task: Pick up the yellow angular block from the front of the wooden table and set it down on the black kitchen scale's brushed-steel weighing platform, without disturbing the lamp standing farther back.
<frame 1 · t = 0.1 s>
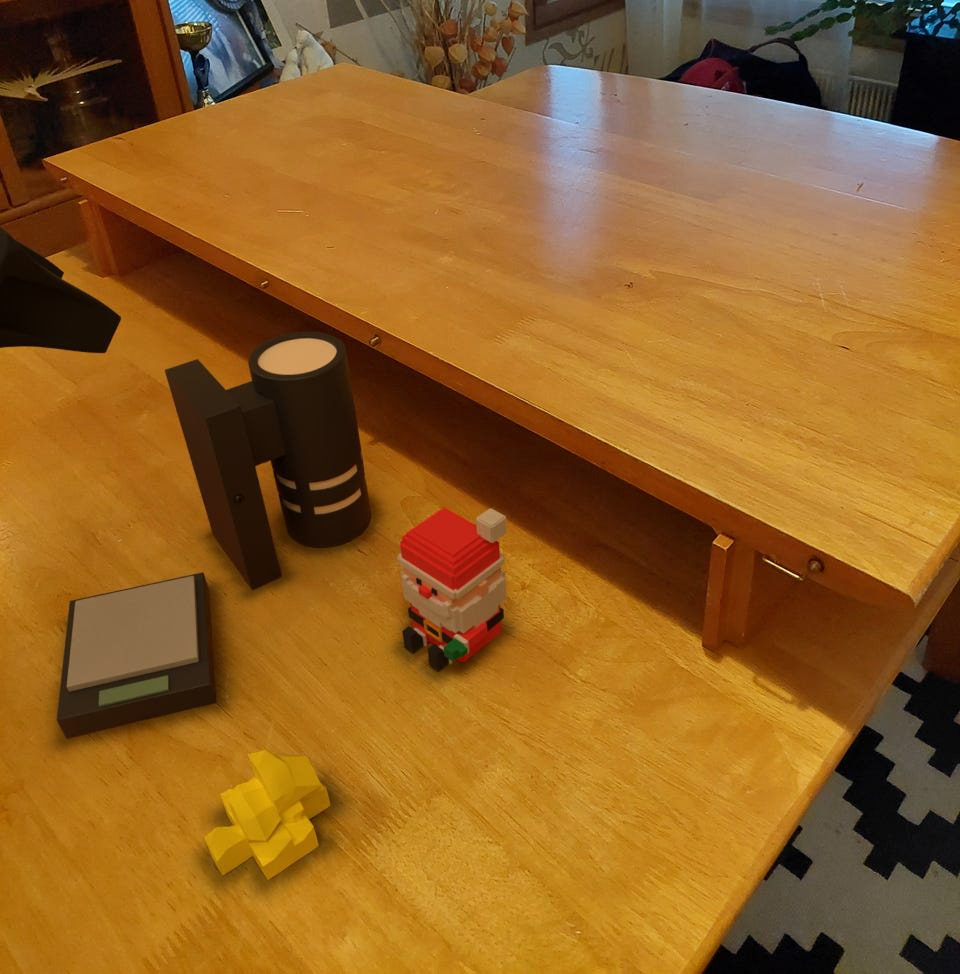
hand: (81, 309, 48), 34 cm above the table, tool tilted 50°, fingers open, 7 cm apart
scale: (143, 651, 75), on the table
yellow angular block: (273, 832, 62), on the table
light fixture: (301, 533, 86), on the table
figurine: (453, 637, 75), on the table
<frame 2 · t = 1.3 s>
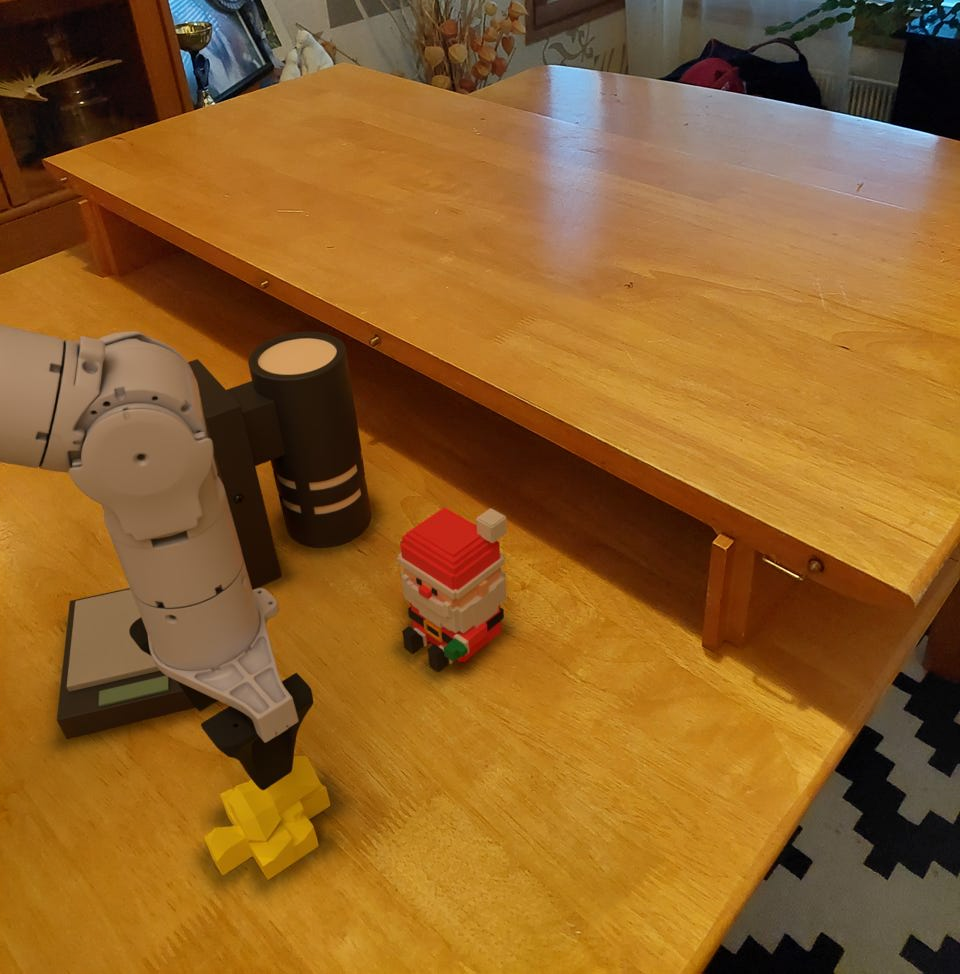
hand: (242, 737, 56), 10 cm above the table, tool pointing down, fingers open, 7 cm apart
nothing on the table moved.
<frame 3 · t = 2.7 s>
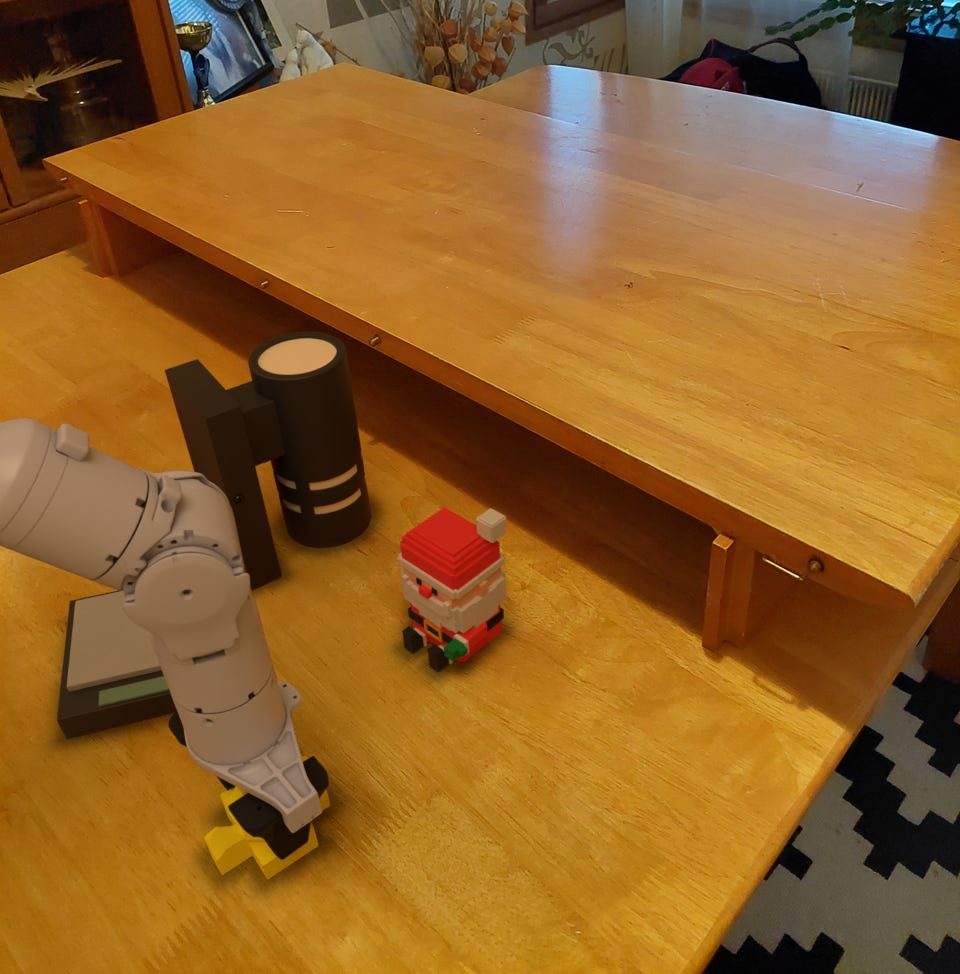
hand: (266, 813, 60), 2 cm above the table, tool pointing down, fingers closed on yellow angular block, 6 cm apart
yellow angular block: (272, 832, 62), on the table, touching gripper
everything else where it was.
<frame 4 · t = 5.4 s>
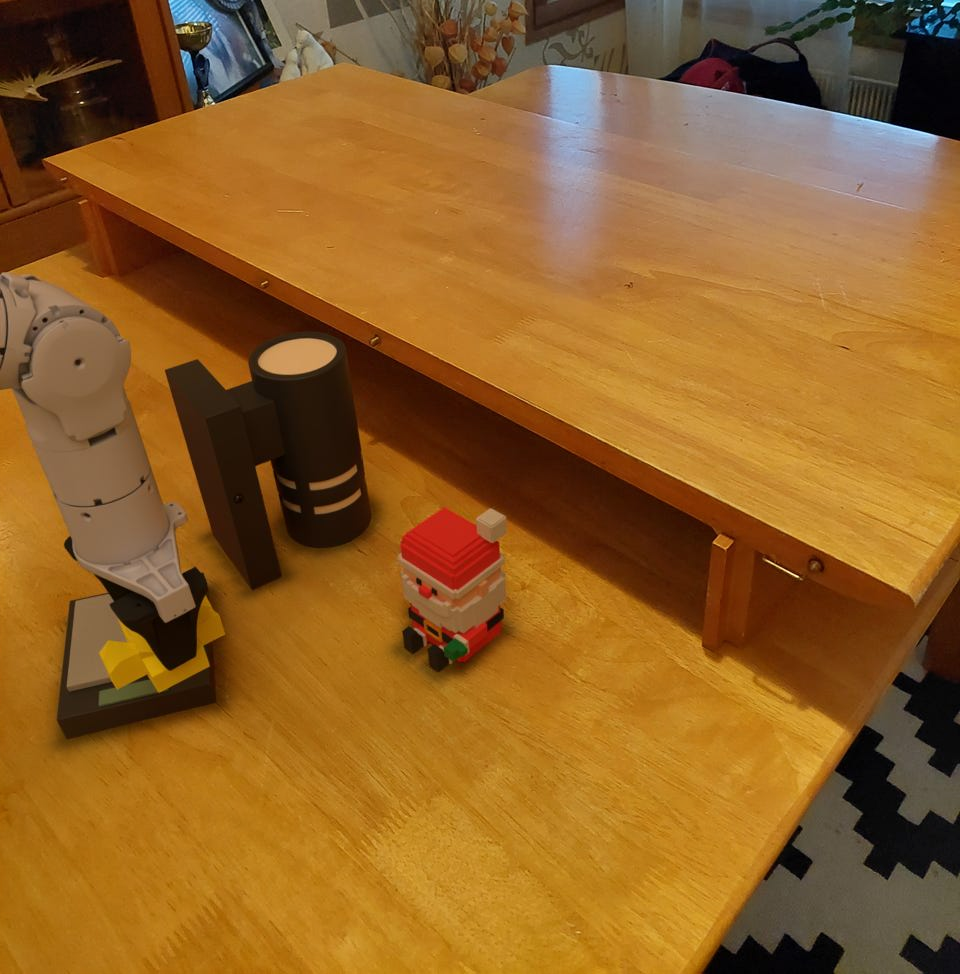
hand: (160, 635, 64), 9 cm above the table, tool pointing down, fingers closed on yellow angular block, 6 cm apart
yellow angular block: (168, 656, 65), point 7 cm above the table, touching gripper
everything else where it was.
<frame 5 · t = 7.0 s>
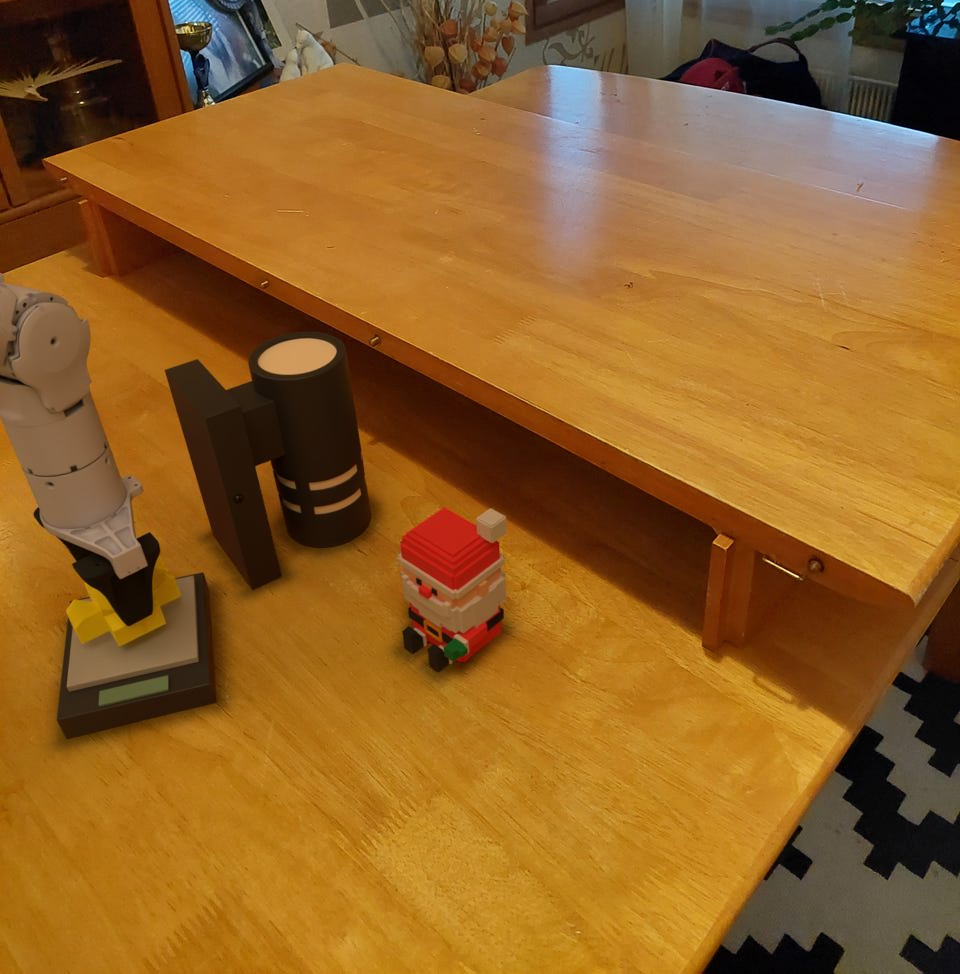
hand: (121, 596, 71), 6 cm above the table, tool pointing down, fingers closed on yellow angular block, 6 cm apart
yellow angular block: (129, 615, 73), point 4 cm above the table, touching gripper
everything else where it was.
when the fingers open (5 cm above the table, at t = 8.1 s): yellow angular block stays where it is, resting on scale.
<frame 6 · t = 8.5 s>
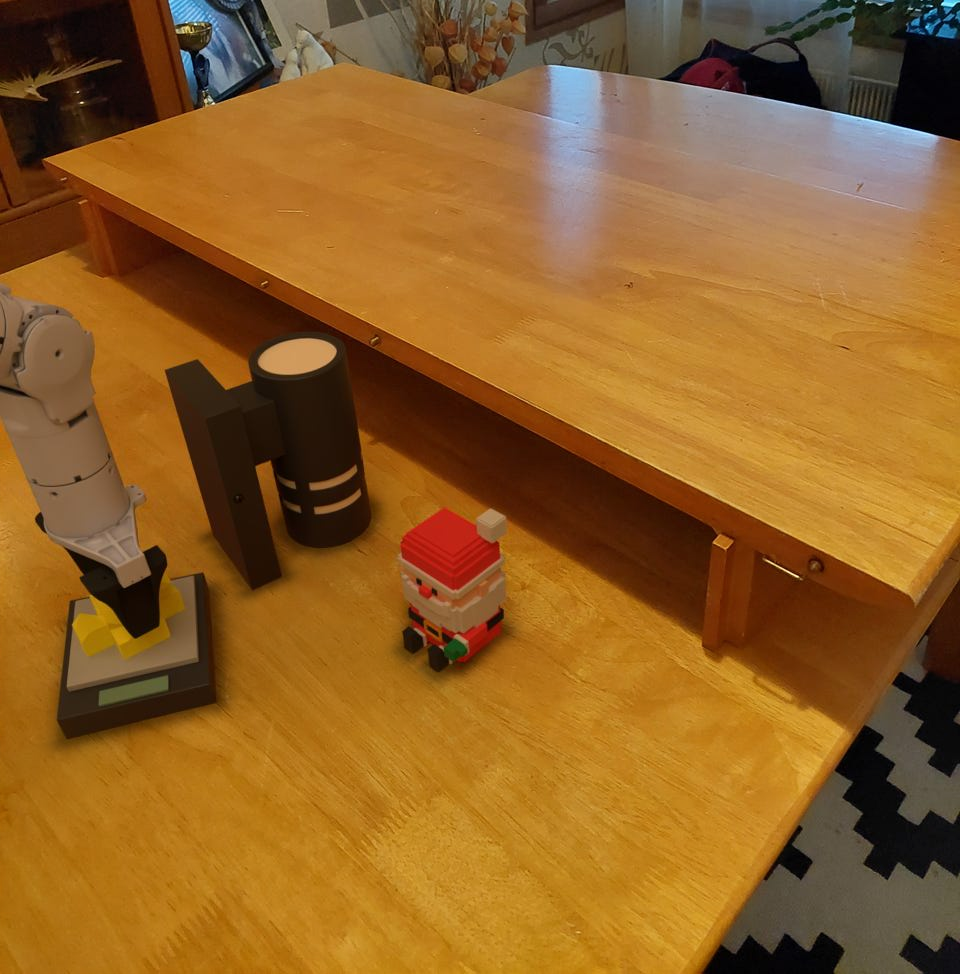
hand: (124, 603, 72), 5 cm above the table, tool pointing down, fingers open, 7 cm apart
yellow angular block: (135, 628, 74), point 3 cm above the table, touching scale
everything else where it was.
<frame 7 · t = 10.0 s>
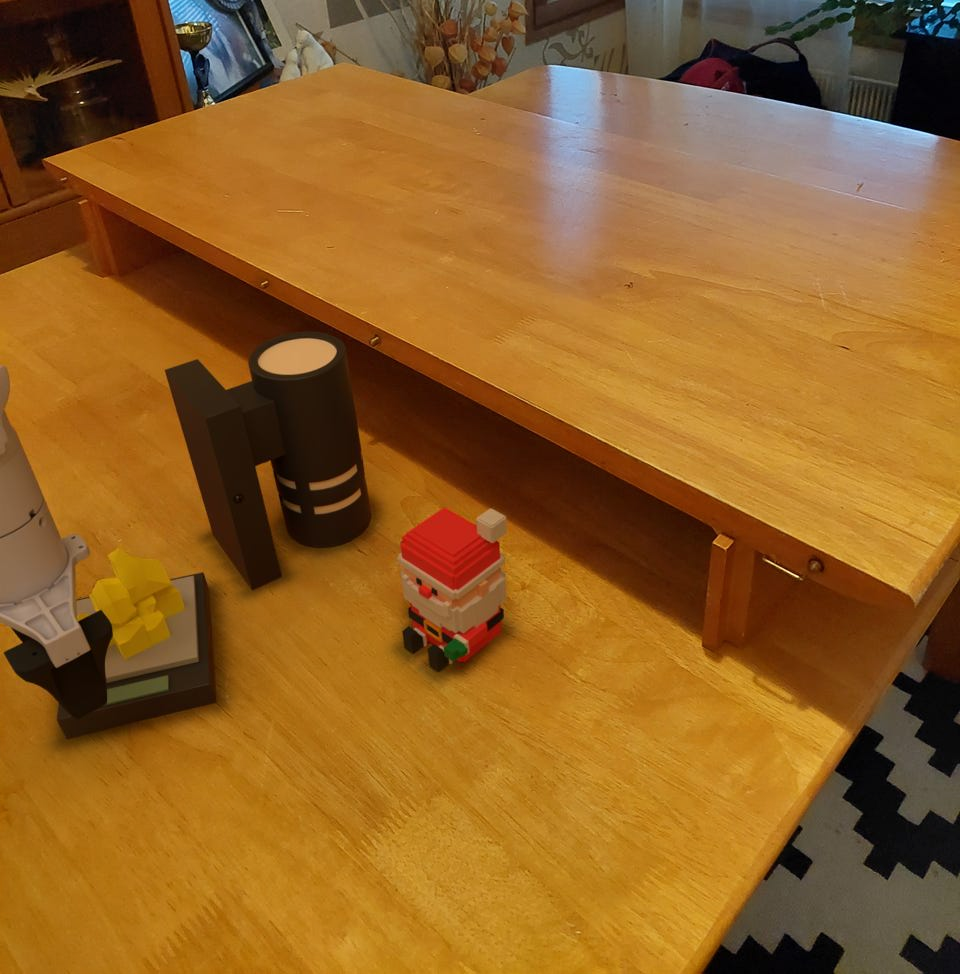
hand: (67, 674, 60), 10 cm above the table, tool pointing down, fingers open, 7 cm apart
nothing on the table moved.
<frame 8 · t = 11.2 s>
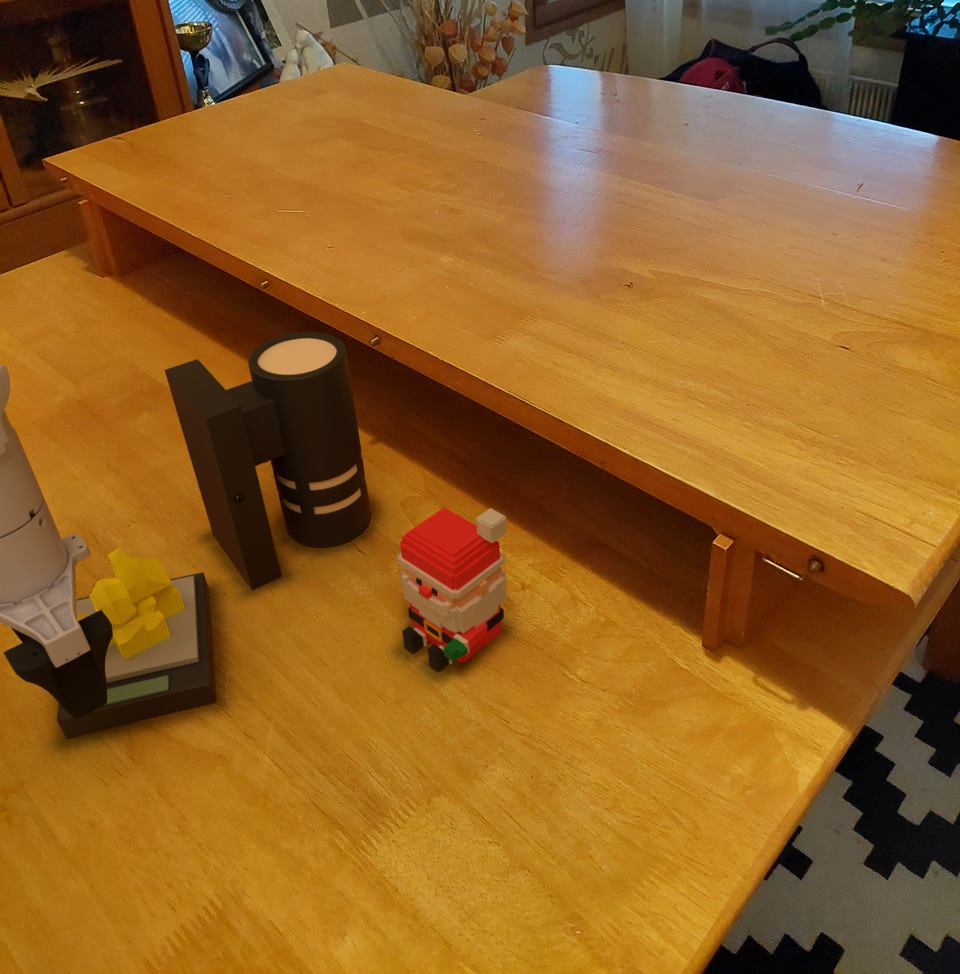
hand: (67, 674, 60), 10 cm above the table, tool pointing down, fingers open, 7 cm apart
nothing on the table moved.
at the end: yellow angular block inside the target area on the scale (0.0 cm from its centre), point 2.6 cm above the scale's base; the gripper is holding nothing; light fixture moved 0.2 cm from its start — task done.
